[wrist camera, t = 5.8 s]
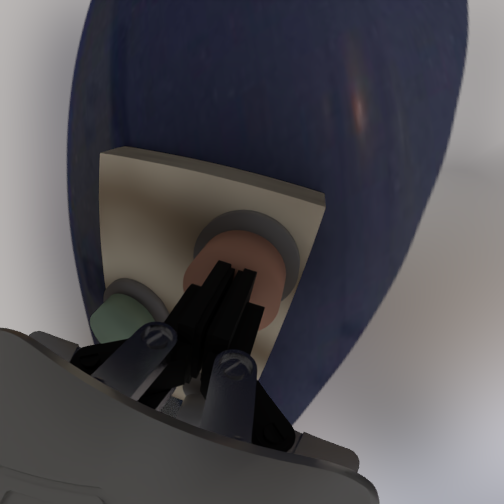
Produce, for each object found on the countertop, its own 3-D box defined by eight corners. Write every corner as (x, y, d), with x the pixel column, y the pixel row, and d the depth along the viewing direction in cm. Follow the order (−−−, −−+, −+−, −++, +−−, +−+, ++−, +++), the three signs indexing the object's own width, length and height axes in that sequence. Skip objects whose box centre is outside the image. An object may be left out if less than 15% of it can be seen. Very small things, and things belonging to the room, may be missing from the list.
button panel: (245, 400, 26) (238, 425, 23) (133, 357, 27) (119, 377, 24) (324, 193, 15) (326, 212, 12) (124, 146, 16) (92, 155, 13)
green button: (158, 349, 19) (144, 370, 17) (110, 327, 19) (96, 345, 17) (156, 307, 17) (140, 329, 15) (103, 284, 17) (85, 303, 15)
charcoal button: (230, 425, 21) (223, 445, 19) (184, 409, 21) (175, 428, 20) (238, 405, 19) (231, 428, 17) (185, 386, 19) (174, 408, 17)
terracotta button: (272, 315, 15) (265, 344, 13) (196, 291, 15) (180, 316, 13) (297, 246, 12) (293, 270, 11) (206, 219, 13) (187, 238, 11)
